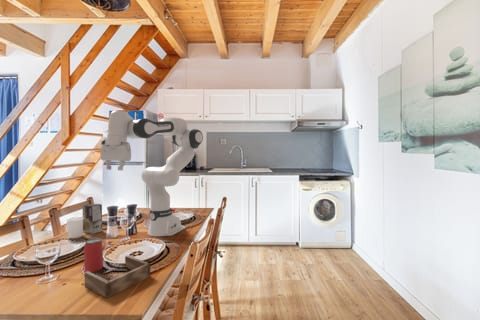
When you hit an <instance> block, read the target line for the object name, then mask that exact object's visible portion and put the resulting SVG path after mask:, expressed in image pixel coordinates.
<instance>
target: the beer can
mask: <svg viewBox="0 0 480 320" xmlns="http://www.w3.org/2000/svg"><path fill="white" fill-rule="evenodd" d="M103 248H104V247H103V242H102V238H90V239H87V240H86V241H85V243H84V245H83V257H84V258H83V259H84V267H83V268H84V271H85V272H87V271H89V272H91V273H96V272H98V271H100V270H102V269H103V267H104V255H103V251H104V249H103Z"/></svg>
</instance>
